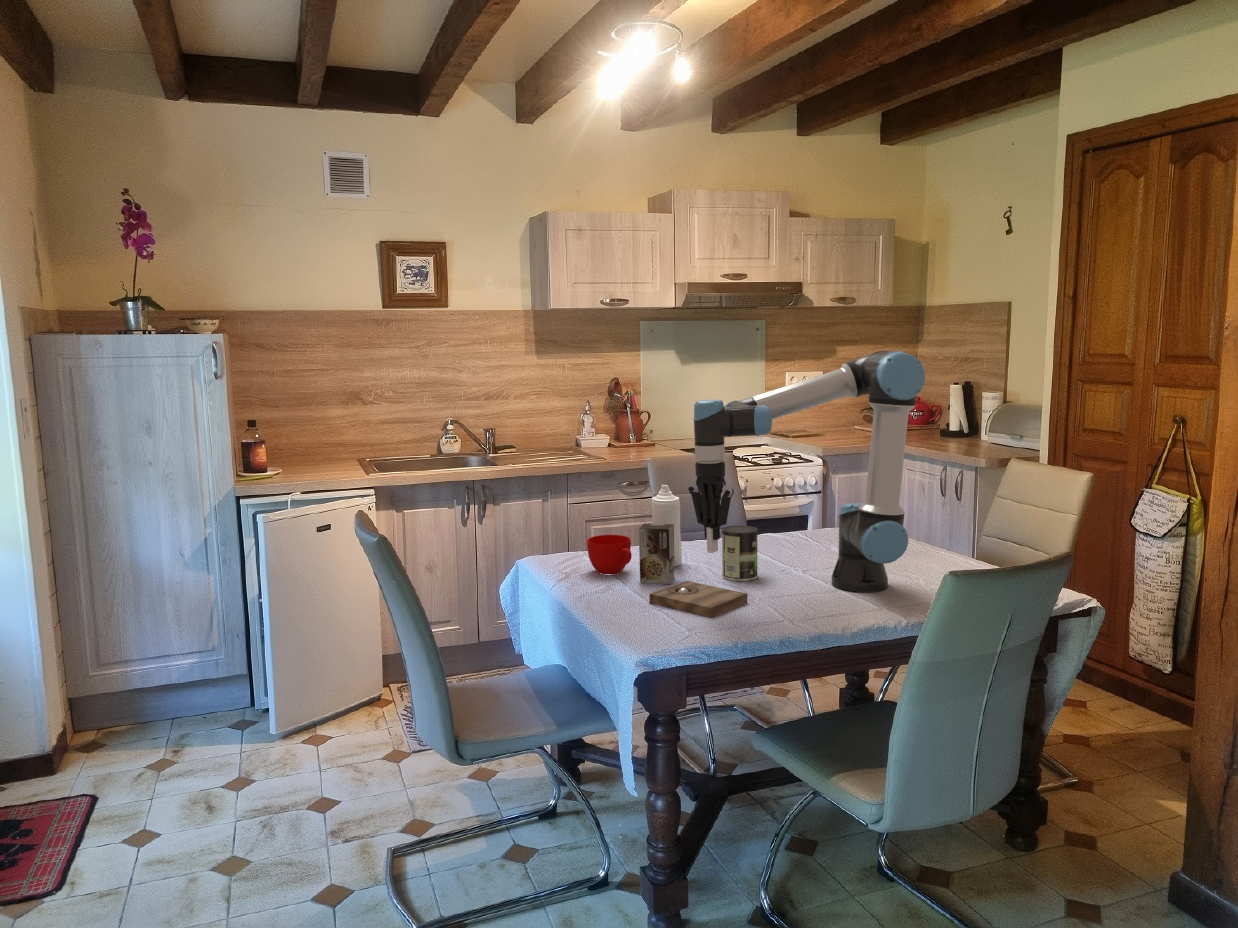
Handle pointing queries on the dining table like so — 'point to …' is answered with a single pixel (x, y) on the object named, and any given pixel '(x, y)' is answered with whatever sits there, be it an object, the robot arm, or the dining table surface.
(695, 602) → the wooden board
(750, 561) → the coffee can
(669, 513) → the spray can
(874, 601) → the dining table surface
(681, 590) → the steel ball
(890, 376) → the robot arm
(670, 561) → the coffee box
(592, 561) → the ceramic cup
